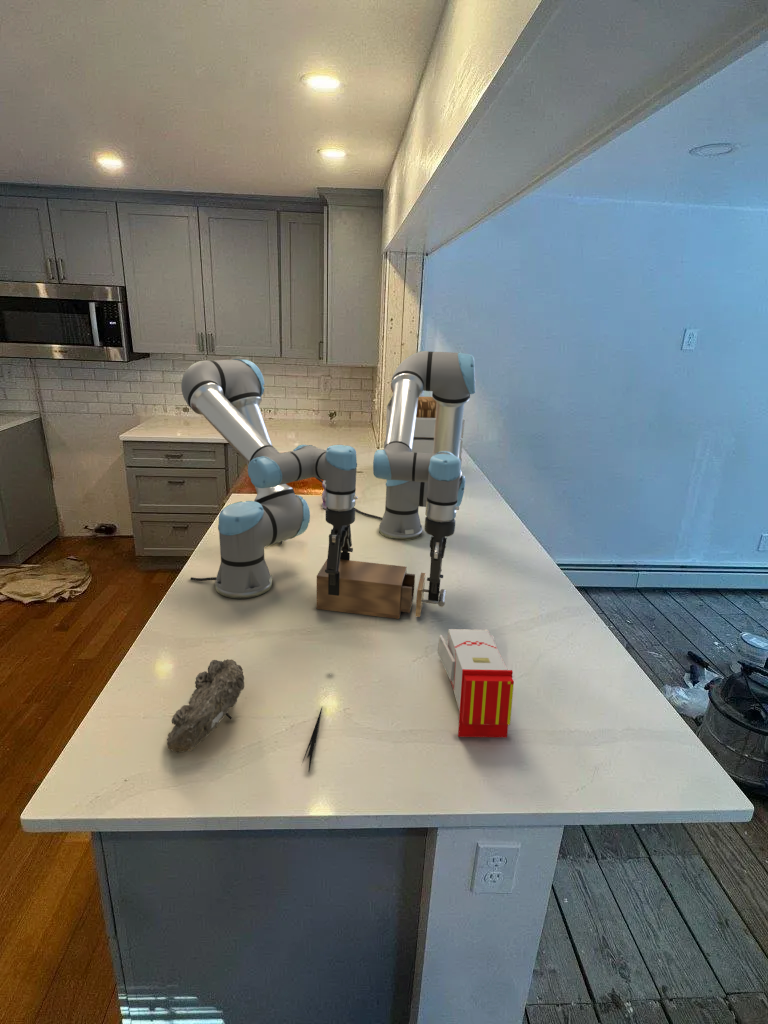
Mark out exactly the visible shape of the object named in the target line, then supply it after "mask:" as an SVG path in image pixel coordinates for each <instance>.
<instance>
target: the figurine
mask: <svg viewBox="0 0 768 1024" xmlns="http://www.w3.org/2000/svg"><path fill="white" fill-rule="evenodd" d="M322 481H323V483H322V482H321V484H322V485H321V486H322V488H323V491H322V493H321V499H322V503H321V507H322V509H325V510H326V507H327V506H326V481H325V480H322Z"/></svg>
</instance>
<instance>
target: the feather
mask: <svg viewBox="0 0 768 1024" xmlns="http://www.w3.org/2000/svg"><path fill="white" fill-rule="evenodd" d="M329 675H330V676H331V675H332V674H331V673H330V674H329ZM322 710H323V707H321V708H320V710H319V713H318V716H317V719H316V723H315V725H314V728H313V731H312V733H311V737H310V739H309V742H308V745H307V748H306V751H305V754H304V757H303V760H302V763H301V767H302V765H303V763H304V761H305V758H308V759H309V760H308V762H307V763H308V764H307V766H308V771H310V770H311V766H312V765H311V764H312V760H313V757H315V756H314V755H315V751H316V749H315V746H317V739H318V733H319V729H320V722H321V717H322V712H323V711H322ZM313 754H314V755H313ZM306 755H307V757H306Z"/></svg>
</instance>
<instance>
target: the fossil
mask: <svg viewBox="0 0 768 1024" xmlns="http://www.w3.org/2000/svg"><path fill="white" fill-rule="evenodd" d="M243 670H244V669H243V667H242V665H240V664H237V662H236V661H235V660H234V659H232V658H231V659H227V658H226V659H224V660H223V661H222V660H217V659H212V660H211V661H210V663H209V665H208V666H207V671H201V672H199V673H198V674H197V675H196V676H195V680H194V684H195V685H194V687H195V689H194V690H193V693H192V694H191V697H190V698H189V700H188V704H184V705H182V706H181V707H180V709H177V710H176V711H175V713H174V715H173V716H172V718H171V723H172V724H173V727H172V730H171V731H170V732H168V734H167V738H166V741H167V742H166V745H167V749H168V750H169V751H173V752H174V753H176V754H178V753H182V752H188V751H189V752H192V751H193V750H195V748H196V747H197V746H199V744H200V743H201V742H203V741H204V740H205V739H206V738H207V737H208V736H209V735H210V734H211V733H212V732H214V730H215V729H217V727H218V726H219V724H220V722H221V721H222V720H223V719H224V718H225V716H226V717H227V719H229V720H233V717H232V715H230V714H229V710H230V709H231V708H234V706H235V704H236V703H237V702H238V699H239V697H240V695H241V693H242V691H243V690H245V689H244V688H245V675H244V671H243Z"/></svg>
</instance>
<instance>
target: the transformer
mask: <svg viewBox="0 0 768 1024" xmlns="http://www.w3.org/2000/svg"><path fill="white" fill-rule="evenodd" d="M391 402H392V397H391V398H390V400H389V402H388V404H387V405H386V413H385V414H386V415H385V423H386V428H385V434H386V433H387V427H388V421H389V414H390V408H391ZM436 404H437V402H436V401H435V400H434V399H433V397H432V396H419V399H418V407H417V415H416V423H415V431H414V439H413V447H412V452H416V453H430V454H433V447H434V433H435V419H436ZM464 429H465V419H464V418H463V422H462V432H461V442H460V452H459V459H460V460H461V463H462V461H463V460H462V453H463V442H464V441H463V440H462V439H463V438H464V431H465V430H464ZM385 439H386V437H385V438H384V440H385ZM384 445H385V441H384V442H383V446H384Z"/></svg>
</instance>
